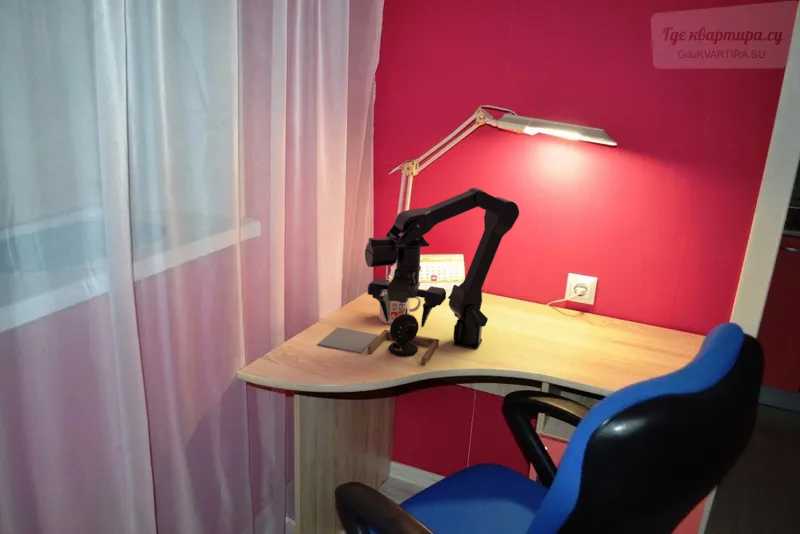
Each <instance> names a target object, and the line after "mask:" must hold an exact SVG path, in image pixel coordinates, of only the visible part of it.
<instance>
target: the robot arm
mask: <svg viewBox="0 0 800 534" xmlns="http://www.w3.org/2000/svg"><path fill="white" fill-rule="evenodd" d="M477 207H478V208H480V209H482V210H484V211H485V212H484V216H483V222H484V223H483V224H484V230H483V232H482V235H481V238H480V240H479V243H478V245H477V248H476V251H475V253H474V256H473V258H472V261H471V263H470V265H469V267H468V270H467V274H466V276H465V278H464V280H463V281H462V282H461V283H460V284H459V285H457V284H454V285H453V286H452V289H451V293H449V296H448V297H447V291H446V290H445V288H444V287H440V286H439V287H437V286H432V285H431V286H430V287H428V288H427V289H421V288H419V287H420V286H421V282H420V272H421V269H422V266H421V251H422V250H421V249H422V248H426V247H430V243H429V242H428V241H427V240H426V239H425V237H424V236H425V235H426V234H428V233H429V232H431V230H433V228H434V227H436V226H437V225H438V224H440V223H443V222H445V221H447V220H449V219H452V218H454V217H456V216H460V215H461V214H464V213H466V212H468V211H470V210H473V209H475V208H477ZM519 216H520V208H519V206H518V205H517V203H515V202H514V201H512V200H509V199H505V198H503V197H500V196H497V197H495V196H493V195H491V194H488V193H487V192H486V191H485V190H483V189H480V188H477V187H471V188H469V189H468V190H466V191H464V192H461V193H459V194H457V195H454V196H452V197H449V198H447V199H445V200H443V201H440V202H437V203H435V204H433V205H431V206H428V207H420V208H411V209H408V210H404V211H401V212H399V213H398V214H396V218H395V221H394V224H393V225H392V226H391V227H390V229H389V230H388V232H387V233H386V235H385V237H379V238H376V237H369V238H368V242H367V244H366V246H365V249H364V259H365V263H366V266H367V267H368V268H375V267H391V266H393V265H394V264H395V269H394V272H393V276H392V279H391V280H390V279H383V278H378V277H377V278H375V279H373V281H371V282H370V283H369V284H368V285H367V295H369V296H372V298H373V299H376V300H377V301H378V302H379V305H380V304H381V307H382V309H383V312H384V315H385V318H386V321H389V318H390V303H391V301H397V302H400V303H406V302H407V301H408V298H410V299H416V298H415V297H419V298H422V299H423V301H424V302H423V304H422V308H423V309H422V314H421V324H420V327H421V328H423V327H425V324H426V323H427V320H428V318H429V316H430V313H431V312H432V310H433V309H434V308H436V307H437V306H441V305H442V304H443V303H444V301H446V298H447V299H449V300H448V306H449V309H450V310H451V312H453V314H454V317H455V318H457V320H456V323H455V324H454V326H453V327H454V328H453V337H452V338H453V344H452V345H453V346H458V347H461V348H462V347H463V348H469V349H473V350H477V349H478V348H479V347H480V345H481V344H482V342H483V338H482V333H483V332H482V330H483V327H486V325H487V322H488V321H489V319H488V317H487V316H486V315H485V314H484V313H483V312H482V311H481V307H482V303H483V291H482V290H483V286H484V284H485V282H486V278H487V277H488V275H489V271H490V268H491V266H492V264H493V262H494V259H495V256H496V254H497V251H498V249H499V246H500V244H501V242H502V239H503V237H504V236H506V234H507V233H508V232H509V231H511V229H512V228H513V227H514V225H515V223H516V222H517V220H518V218H519ZM400 234H401V235H400Z"/></svg>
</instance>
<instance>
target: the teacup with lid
mask: <svg viewBox="0 0 800 534" xmlns="http://www.w3.org/2000/svg"><path fill="white" fill-rule="evenodd" d="M414 299H417V301H418V303H417V305H416V306H415V307H414V308H411V298H408V301H407V302H406V303H400V302H397V301H391V303H390V318H389V321H386V318H385V315H384V312H383V309H382V307H381V304H380V303H379V316H378V317H379V320H380V321H381V322H383V323H385V324H387V325H391V324H392V322H393V320H394V319H395V318H396V317H398V316H400V315H402V314H410V315H411V313H414V312H417V311H418V310H419V309H420V307H421V304H422V300H421V297H415V298H414Z"/></svg>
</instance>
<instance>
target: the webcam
mask: <svg viewBox="0 0 800 534" xmlns="http://www.w3.org/2000/svg"><path fill="white" fill-rule="evenodd" d="M418 321H419V320H417V318H416V317H415V316H414V315H413V314H411V313H410V314H402V315H400V316H398V317H396V318H395V319H394V320H393V322H392V324H390V326H389V330H390V335H391V337H392V339H393V341H394V342H392V343H390V344H389V345H388V352H389V353H390V354H391V355H393V356H396V357H400V358H401V357H402V358H409V357H413V356H415V355H416V354H418V351H419V347H418V345H417V344H414V343H411V342H410V341H411V340H413V339H414V338H415V336H416V335H417V334H418V332H419V322H418ZM392 339H391V340H392ZM396 339H397V340H396ZM396 348H400V350H399V349H396Z"/></svg>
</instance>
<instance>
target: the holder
mask: <svg viewBox="0 0 800 534" xmlns="http://www.w3.org/2000/svg"><path fill="white" fill-rule="evenodd" d="M378 335H379V336H378V337H377V338H376V339H375V340H374V341H373V342H372V343H371V344H370V345H369V346H368V347H367V355H373V354H374V352H375V351H376V350H378V348H379V347H380V346H381V345H382V344H383V343H384V342H385V341H386V340H387V339H388V340H393V339H392V337H391V335H390V329H389V330H388V329H384V330H382V332H380V334H378ZM396 340H397V339H396ZM393 341H394V340H393ZM410 342H411V343H414V344H415V345H417V346H418V345H420V346H425V347H428V348H427V349H426V351H425V352H424V353H423V354H422V355H421V360H420V361H421V363H420V365H422V366H427V364H428V362H429V361H430V360H431V358H432V356H433V355H435V352H436V351H437V349H438V348H439V344H440V339H439V338H432V337H427V336H423V335H422V336H421V335H417V334H416V336H415V338H414V339H413V340H411V341H410Z"/></svg>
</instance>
